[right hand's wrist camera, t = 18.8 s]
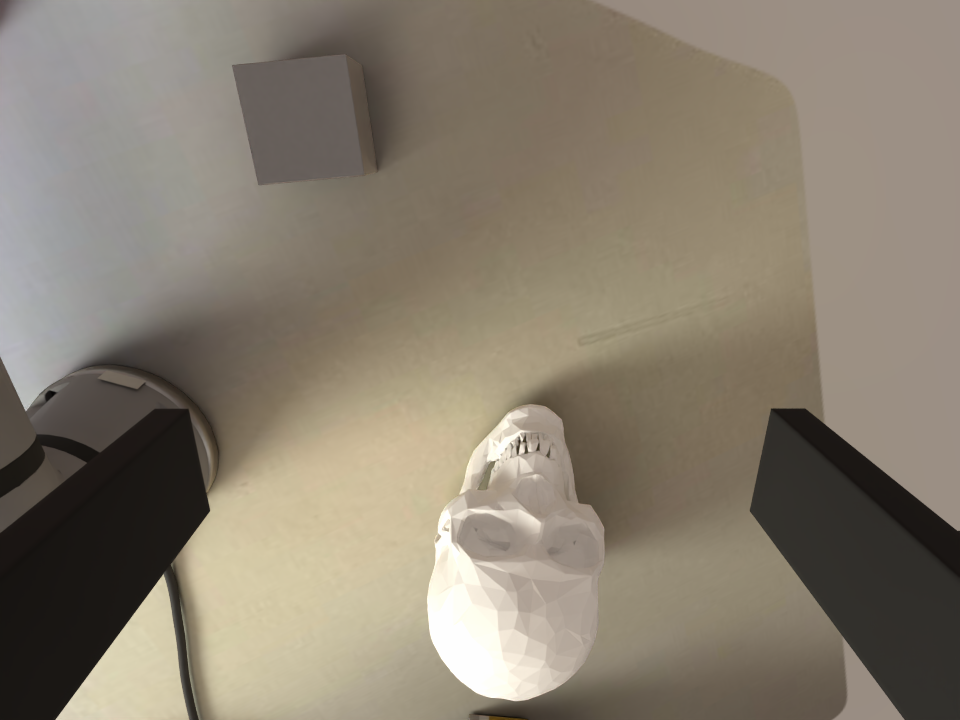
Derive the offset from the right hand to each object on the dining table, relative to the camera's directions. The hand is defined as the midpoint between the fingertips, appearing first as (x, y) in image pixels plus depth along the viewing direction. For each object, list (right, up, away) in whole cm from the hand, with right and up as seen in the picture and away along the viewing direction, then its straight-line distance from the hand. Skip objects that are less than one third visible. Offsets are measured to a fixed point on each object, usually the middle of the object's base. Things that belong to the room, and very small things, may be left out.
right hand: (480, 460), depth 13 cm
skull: (+3, -11, +38) cm, 40 cm away
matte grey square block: (-11, +19, +27) cm, 35 cm away
